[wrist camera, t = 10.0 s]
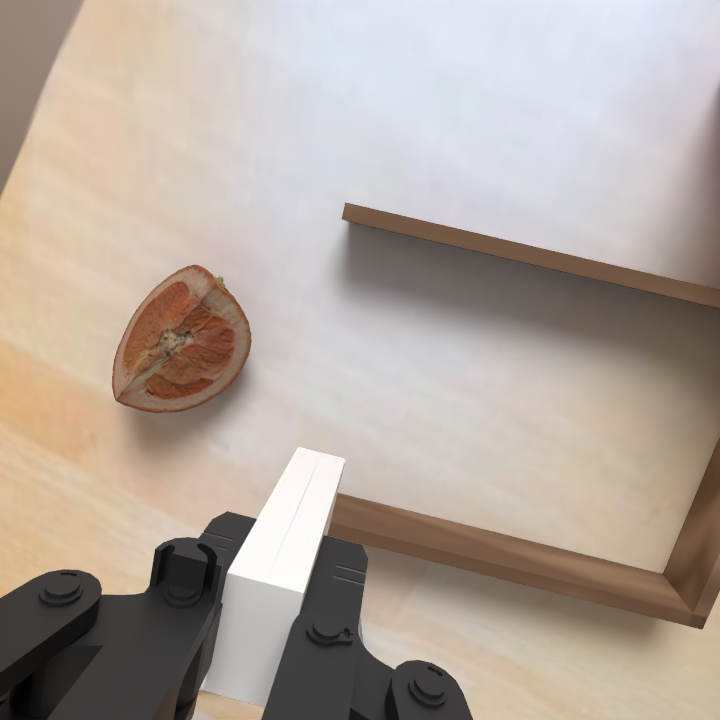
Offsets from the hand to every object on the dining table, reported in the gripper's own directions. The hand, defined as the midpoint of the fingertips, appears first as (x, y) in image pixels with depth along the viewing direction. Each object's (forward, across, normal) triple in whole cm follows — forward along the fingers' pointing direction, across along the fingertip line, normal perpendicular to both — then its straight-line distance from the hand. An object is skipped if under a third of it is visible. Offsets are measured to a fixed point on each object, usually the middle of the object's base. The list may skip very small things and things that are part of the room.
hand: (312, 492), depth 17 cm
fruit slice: (+15, +10, 0) cm, 18 cm away
